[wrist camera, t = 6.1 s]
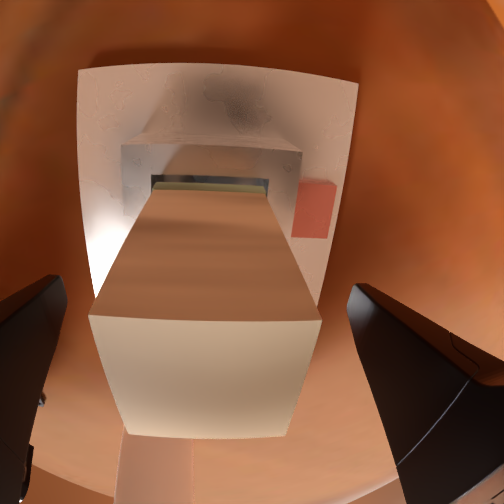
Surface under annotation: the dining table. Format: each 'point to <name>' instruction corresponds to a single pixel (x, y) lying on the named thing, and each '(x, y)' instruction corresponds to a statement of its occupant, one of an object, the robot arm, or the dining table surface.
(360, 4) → the dining table surface
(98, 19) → the dining table surface
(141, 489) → the cylindrical container
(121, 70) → the sleeve stand
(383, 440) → the dining table surface
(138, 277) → the post
